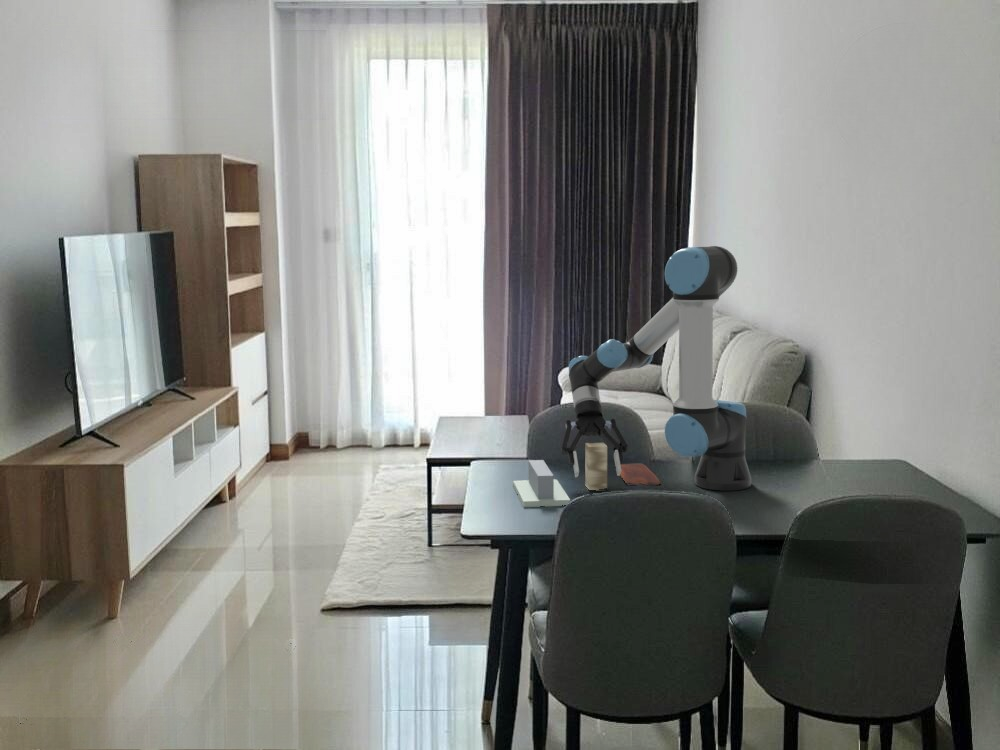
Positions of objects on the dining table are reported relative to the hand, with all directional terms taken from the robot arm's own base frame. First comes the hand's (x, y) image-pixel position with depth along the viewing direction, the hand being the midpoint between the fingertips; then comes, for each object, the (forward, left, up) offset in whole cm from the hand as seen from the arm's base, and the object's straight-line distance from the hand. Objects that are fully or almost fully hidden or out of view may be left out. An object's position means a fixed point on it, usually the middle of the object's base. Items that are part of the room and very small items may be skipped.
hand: (598, 473), depth 293 cm
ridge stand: (+13, +9, -5) cm, 17 cm away
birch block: (+1, -3, -5) cm, 5 cm away
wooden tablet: (-6, -22, -5) cm, 23 cm away
